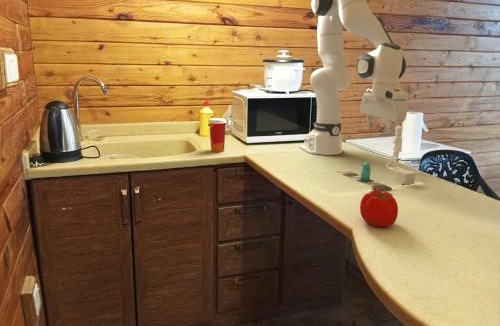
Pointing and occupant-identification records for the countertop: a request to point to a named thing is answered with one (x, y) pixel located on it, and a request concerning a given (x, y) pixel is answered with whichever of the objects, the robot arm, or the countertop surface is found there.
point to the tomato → (379, 208)
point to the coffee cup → (217, 134)
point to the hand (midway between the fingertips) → (379, 130)
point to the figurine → (396, 148)
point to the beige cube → (405, 177)
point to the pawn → (365, 172)
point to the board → (371, 183)
